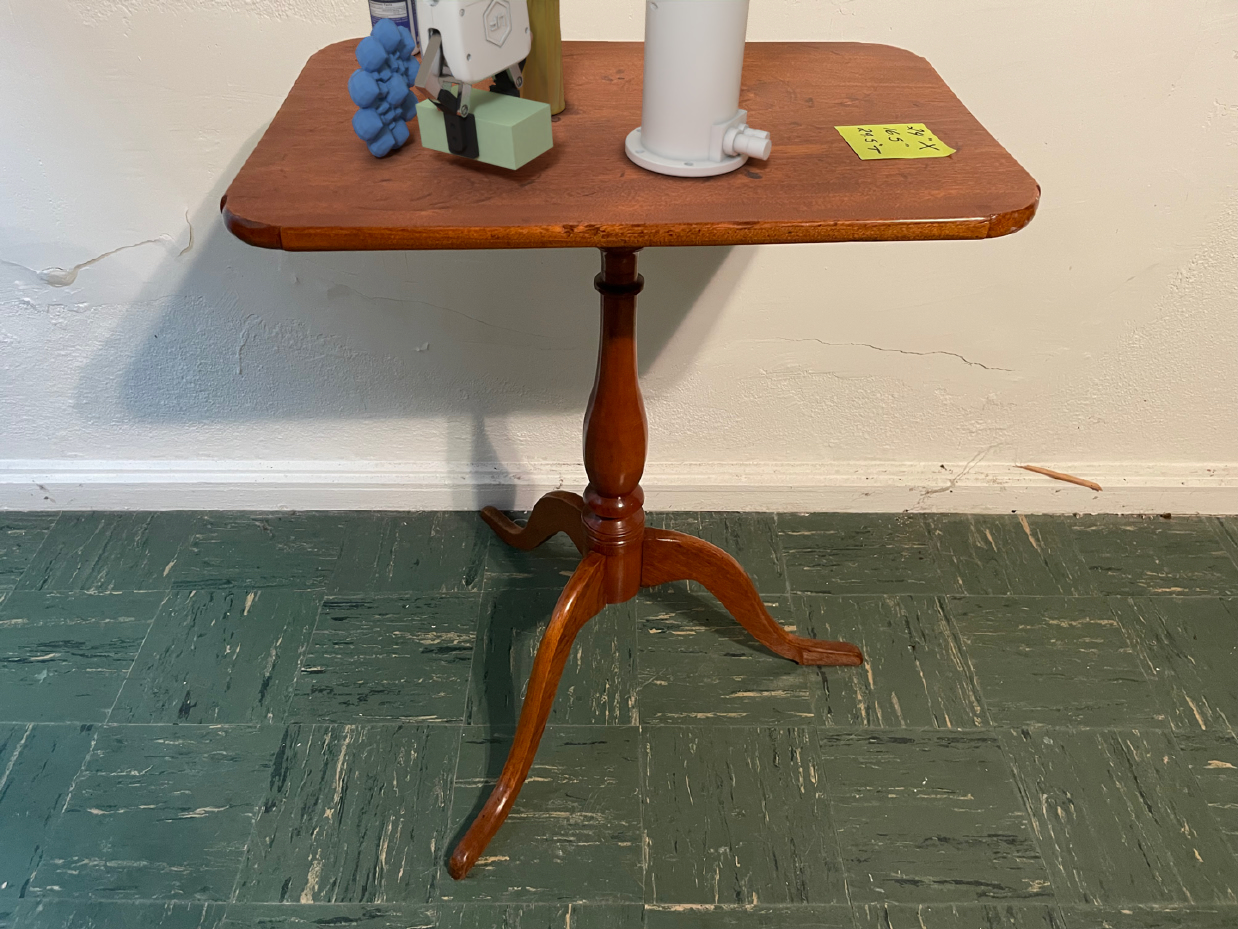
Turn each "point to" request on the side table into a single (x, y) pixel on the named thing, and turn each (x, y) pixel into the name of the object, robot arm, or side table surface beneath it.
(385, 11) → the pill bottle
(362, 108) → the grapes
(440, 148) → the pale sage-green block
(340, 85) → the side table surface
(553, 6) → the vase
